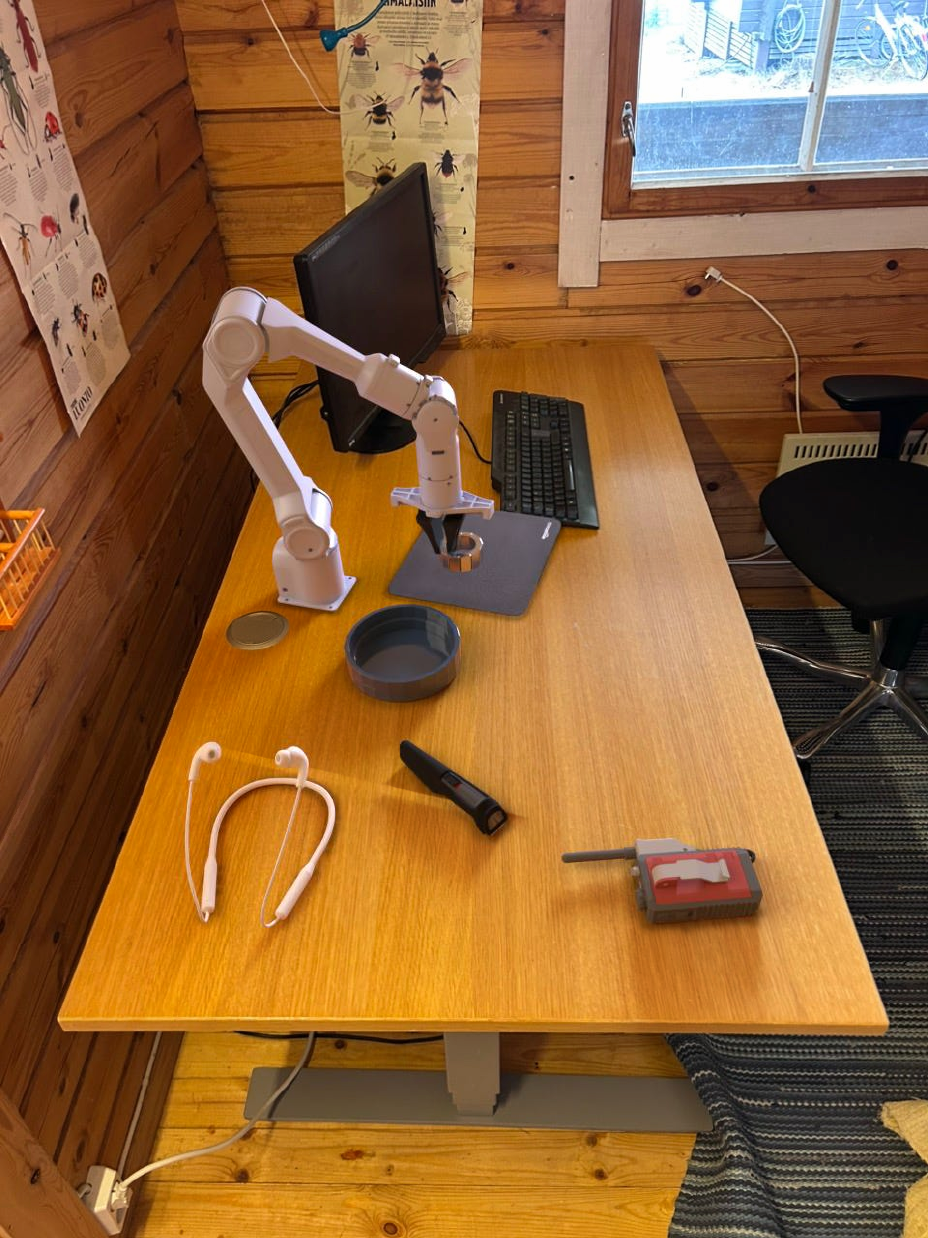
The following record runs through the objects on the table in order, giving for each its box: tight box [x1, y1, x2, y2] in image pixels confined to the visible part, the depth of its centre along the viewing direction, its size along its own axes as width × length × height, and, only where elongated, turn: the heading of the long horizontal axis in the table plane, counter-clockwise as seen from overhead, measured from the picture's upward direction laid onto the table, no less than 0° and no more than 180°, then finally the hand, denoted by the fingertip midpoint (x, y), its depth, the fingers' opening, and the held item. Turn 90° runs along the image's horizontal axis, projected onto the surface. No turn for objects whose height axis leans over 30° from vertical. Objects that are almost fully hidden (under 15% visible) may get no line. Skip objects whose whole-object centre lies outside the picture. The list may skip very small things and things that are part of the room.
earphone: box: [184, 741, 336, 929], centre depth 93 cm, size 14×17×18 cm
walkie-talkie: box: [561, 837, 764, 925], centre depth 88 cm, size 9×4×20 cm
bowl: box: [343, 603, 462, 703], centre depth 115 cm, size 15×15×4 cm
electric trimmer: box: [399, 739, 508, 837], centre depth 99 cm, size 4×16×3 cm, turn 45°
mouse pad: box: [387, 509, 562, 617], centre depth 133 cm, size 25×21×1 cm
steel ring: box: [439, 532, 484, 572], centre depth 124 cm, size 6×6×3 cm
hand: (445, 551), depth 125 cm, fingers closed on steel ring
